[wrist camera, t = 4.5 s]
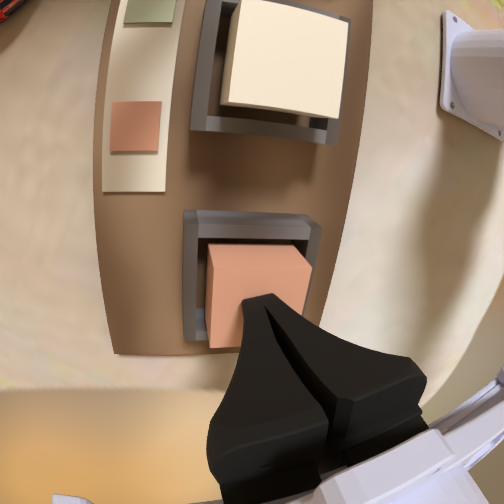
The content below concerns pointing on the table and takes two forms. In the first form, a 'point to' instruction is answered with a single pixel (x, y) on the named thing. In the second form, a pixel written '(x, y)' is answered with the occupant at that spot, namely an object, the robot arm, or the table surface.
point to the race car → (9, 7)
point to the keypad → (208, 168)
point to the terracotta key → (249, 284)
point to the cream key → (284, 60)
